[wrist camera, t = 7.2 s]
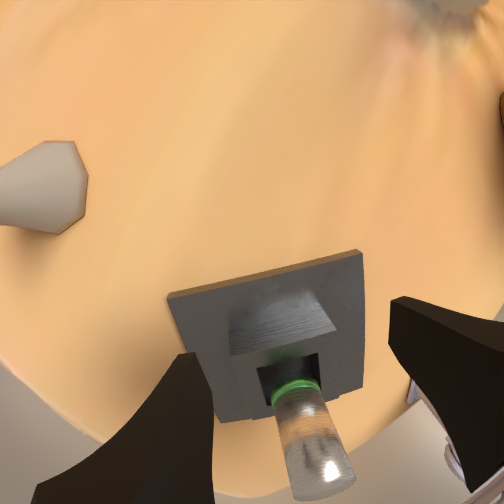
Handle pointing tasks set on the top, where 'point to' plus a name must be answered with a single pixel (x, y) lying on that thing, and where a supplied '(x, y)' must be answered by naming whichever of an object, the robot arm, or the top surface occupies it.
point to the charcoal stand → (277, 332)
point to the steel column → (309, 440)
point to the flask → (44, 188)
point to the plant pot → (502, 107)
